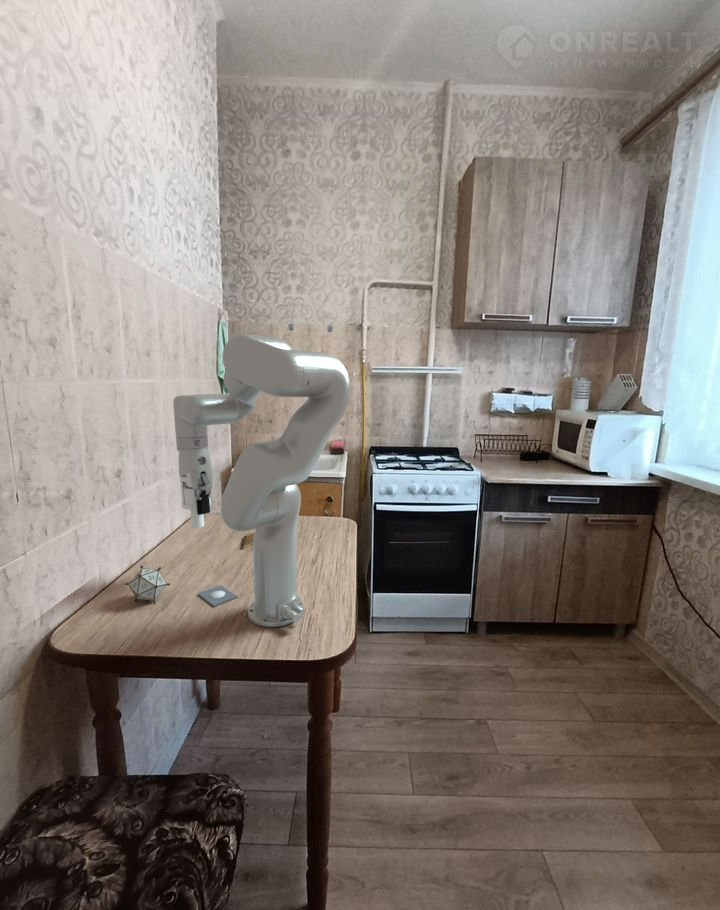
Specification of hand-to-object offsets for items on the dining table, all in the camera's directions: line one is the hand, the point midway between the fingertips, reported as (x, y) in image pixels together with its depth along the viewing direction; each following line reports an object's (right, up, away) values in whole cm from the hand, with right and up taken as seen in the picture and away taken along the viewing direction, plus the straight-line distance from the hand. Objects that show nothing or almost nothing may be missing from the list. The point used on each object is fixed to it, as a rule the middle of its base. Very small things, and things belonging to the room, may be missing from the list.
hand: (197, 510), depth 108 cm
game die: (-8, -20, -9) cm, 24 cm away
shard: (+8, -15, +28) cm, 32 cm away
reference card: (+8, -20, -7) cm, 23 cm away
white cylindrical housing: (0, -4, +1) cm, 5 cm away
